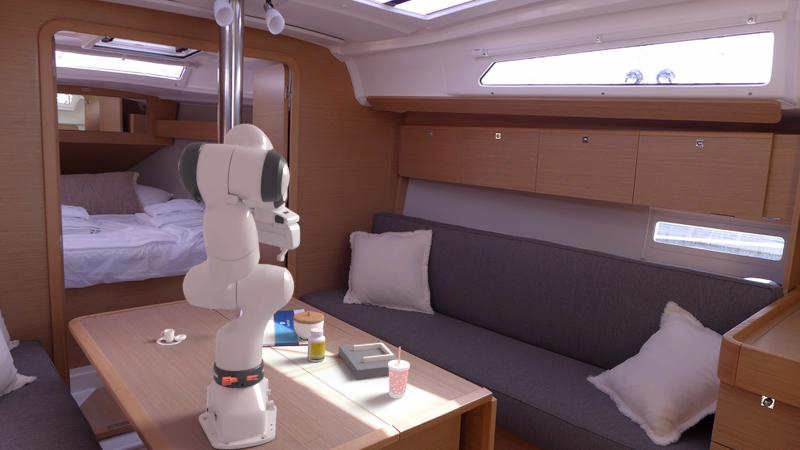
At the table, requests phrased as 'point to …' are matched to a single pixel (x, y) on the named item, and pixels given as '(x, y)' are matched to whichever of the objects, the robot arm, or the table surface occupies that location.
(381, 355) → the dock
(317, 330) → the supplement bottle
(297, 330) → the lidded jar
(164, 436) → the table surface
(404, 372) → the beverage cup
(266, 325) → the robot arm
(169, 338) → the white cup and donut
